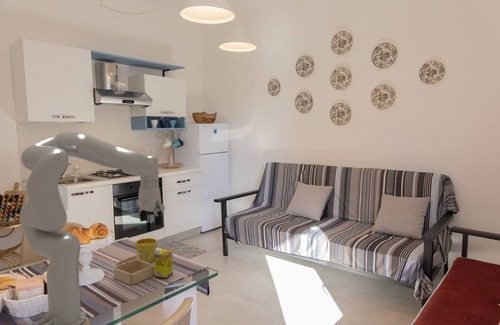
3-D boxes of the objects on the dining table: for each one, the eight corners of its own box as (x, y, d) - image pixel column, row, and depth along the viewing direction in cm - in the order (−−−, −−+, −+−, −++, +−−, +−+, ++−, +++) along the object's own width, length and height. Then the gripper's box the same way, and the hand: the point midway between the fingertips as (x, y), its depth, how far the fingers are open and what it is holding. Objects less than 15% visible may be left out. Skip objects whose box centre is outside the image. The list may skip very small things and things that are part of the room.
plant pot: (161, 260, 172) (161, 241, 171) (142, 266, 165) (141, 246, 163) (151, 254, 179) (150, 236, 178) (132, 260, 172) (131, 240, 171)
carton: (131, 286, 145) (131, 275, 144) (113, 278, 152) (112, 268, 151) (156, 274, 156) (156, 264, 155) (138, 268, 163) (137, 258, 162)
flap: (120, 261, 150) (120, 260, 150) (115, 266, 152) (114, 266, 153) (140, 253, 158) (140, 253, 158) (135, 258, 161) (134, 258, 161)
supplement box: (167, 279, 151) (166, 255, 150) (154, 277, 153) (154, 253, 151) (173, 273, 157) (172, 250, 156) (160, 272, 158) (160, 249, 157)
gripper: (129, 183, 151) (131, 221, 153) (156, 187, 141) (157, 228, 143) (143, 180, 157) (145, 217, 159) (170, 184, 147) (171, 224, 149)
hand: (150, 222), depth 151 cm, fingers open, 9 cm apart
